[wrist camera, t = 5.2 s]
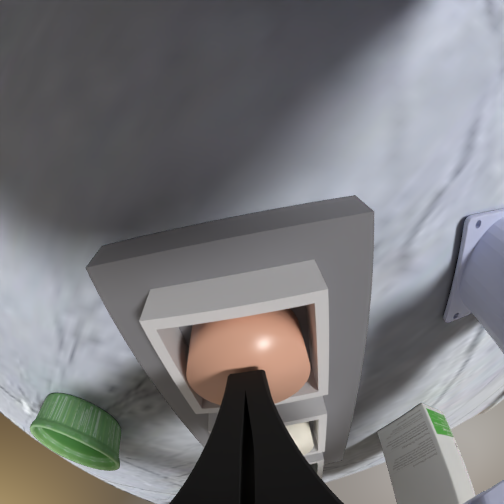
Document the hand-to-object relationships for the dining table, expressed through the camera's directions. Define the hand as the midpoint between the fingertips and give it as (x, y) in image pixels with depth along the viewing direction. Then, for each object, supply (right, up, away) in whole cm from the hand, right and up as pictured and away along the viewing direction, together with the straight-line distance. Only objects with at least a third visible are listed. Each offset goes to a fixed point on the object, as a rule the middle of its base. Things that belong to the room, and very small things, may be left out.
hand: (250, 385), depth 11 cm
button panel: (+1, -5, +9) cm, 10 cm away
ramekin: (-16, -10, +10) cm, 22 cm away
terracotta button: (0, +1, +2) cm, 3 cm away
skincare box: (+18, -14, +15) cm, 28 cm away
